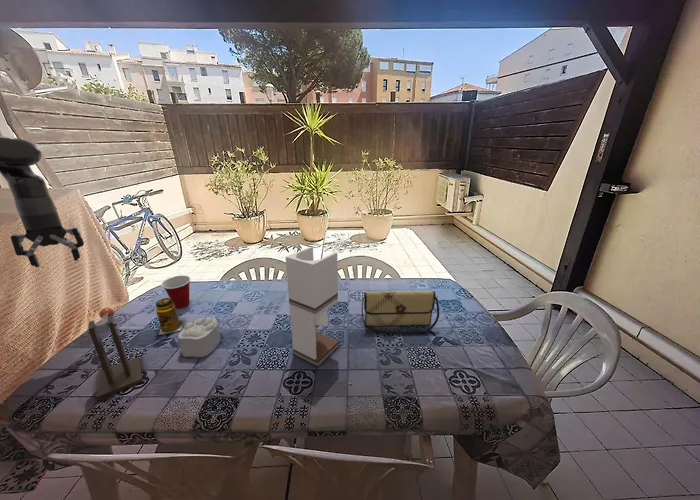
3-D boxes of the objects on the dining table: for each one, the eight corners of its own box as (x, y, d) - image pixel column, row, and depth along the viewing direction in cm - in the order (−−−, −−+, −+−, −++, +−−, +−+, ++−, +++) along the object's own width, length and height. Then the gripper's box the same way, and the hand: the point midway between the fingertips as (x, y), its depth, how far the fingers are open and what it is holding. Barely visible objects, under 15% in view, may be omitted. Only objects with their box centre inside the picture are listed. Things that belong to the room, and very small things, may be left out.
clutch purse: (361, 335, 101) (362, 299, 96) (360, 324, 108) (360, 290, 103) (440, 333, 102) (444, 298, 97) (434, 322, 108) (438, 289, 104)
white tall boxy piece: (317, 366, 86) (313, 264, 74) (293, 353, 91) (285, 256, 80) (338, 346, 95) (337, 252, 83) (315, 335, 100) (310, 246, 89)
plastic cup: (162, 312, 114) (156, 287, 110) (173, 300, 124) (167, 276, 120) (190, 310, 116) (185, 285, 112) (198, 297, 126) (193, 274, 122)
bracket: (99, 374, 82) (77, 318, 76) (139, 359, 88) (123, 306, 82) (97, 400, 74) (73, 340, 67) (143, 381, 80) (124, 324, 73)
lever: (101, 318, 88) (98, 308, 87) (115, 315, 90) (112, 304, 90) (95, 337, 73) (91, 325, 73) (112, 332, 75) (109, 320, 75)
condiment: (158, 335, 100) (150, 307, 96) (163, 323, 108) (155, 296, 104) (181, 330, 103) (174, 303, 99) (184, 318, 110) (178, 292, 106)
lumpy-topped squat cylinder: (177, 356, 90) (171, 334, 87) (200, 332, 102) (196, 312, 99) (207, 357, 89) (203, 335, 86) (227, 333, 102) (223, 313, 99)
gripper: (-4, 217, 72) (20, 273, 78) (70, 210, 81) (88, 261, 86) (4, 213, 78) (26, 265, 83) (73, 207, 86) (89, 254, 92)
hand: (58, 263), depth 85 cm, fingers open, 8 cm apart
